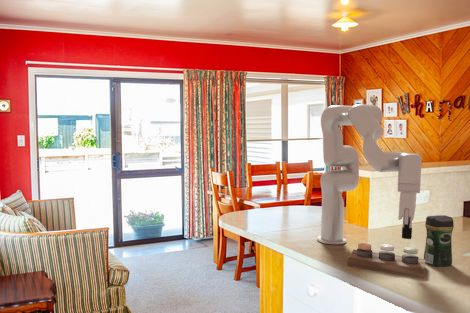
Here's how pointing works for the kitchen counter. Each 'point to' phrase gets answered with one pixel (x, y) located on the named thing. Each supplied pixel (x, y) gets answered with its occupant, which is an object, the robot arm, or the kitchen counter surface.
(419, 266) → the button board
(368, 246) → the terracotta button
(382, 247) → the white button
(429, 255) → the coffee jar
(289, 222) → the kitchen counter surface
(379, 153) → the robot arm
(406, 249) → the sage button
